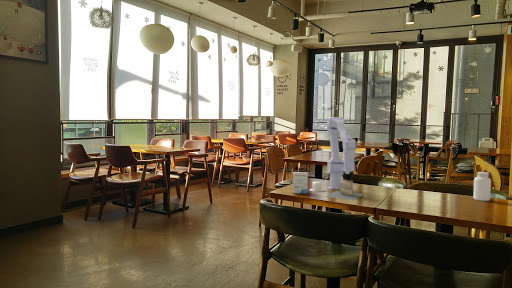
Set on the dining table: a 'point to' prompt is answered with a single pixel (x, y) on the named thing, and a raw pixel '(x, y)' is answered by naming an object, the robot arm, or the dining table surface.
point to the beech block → (346, 187)
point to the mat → (342, 196)
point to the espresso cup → (317, 186)
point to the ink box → (300, 182)
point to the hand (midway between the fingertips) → (348, 184)
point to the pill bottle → (482, 187)
